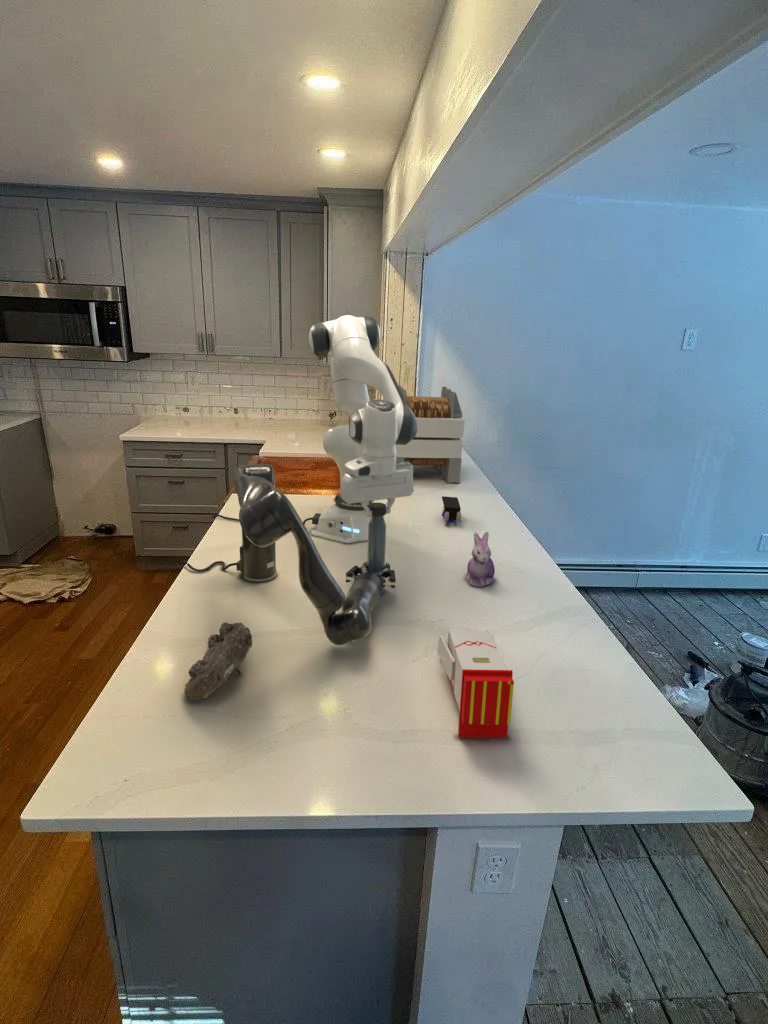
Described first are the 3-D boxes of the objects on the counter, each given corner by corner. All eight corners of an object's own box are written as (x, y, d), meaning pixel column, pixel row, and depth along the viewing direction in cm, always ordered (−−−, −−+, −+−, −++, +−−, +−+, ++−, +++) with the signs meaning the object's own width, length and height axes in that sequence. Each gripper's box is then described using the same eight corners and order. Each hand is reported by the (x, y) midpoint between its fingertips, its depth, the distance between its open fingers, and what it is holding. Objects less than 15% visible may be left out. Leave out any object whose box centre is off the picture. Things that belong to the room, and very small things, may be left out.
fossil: (205, 625, 130) (252, 594, 125) (233, 653, 133) (280, 624, 128) (163, 694, 111) (216, 661, 106) (197, 725, 114) (251, 694, 109)
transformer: (382, 463, 289) (386, 382, 275) (445, 464, 293) (451, 384, 279) (390, 482, 257) (394, 392, 243) (460, 483, 261) (468, 394, 247)
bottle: (373, 584, 162) (376, 502, 154) (387, 590, 160) (390, 506, 151) (362, 591, 159) (364, 507, 150) (376, 596, 156) (379, 511, 147)
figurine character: (461, 530, 209) (456, 512, 222) (463, 512, 205) (458, 495, 219) (443, 530, 208) (439, 512, 222) (445, 511, 205) (440, 494, 218)
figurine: (477, 590, 161) (482, 542, 156) (457, 575, 170) (461, 529, 165) (503, 584, 166) (509, 537, 161) (482, 570, 174) (487, 525, 169)
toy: (488, 613, 130) (523, 677, 101) (484, 667, 133) (517, 744, 104) (435, 612, 130) (455, 676, 101) (432, 666, 133) (451, 743, 103)
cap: (369, 516, 149) (369, 507, 148) (369, 510, 153) (369, 502, 152) (386, 517, 149) (386, 508, 148) (385, 511, 153) (385, 502, 153)
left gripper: (392, 582, 141) (403, 555, 157) (337, 576, 143) (353, 550, 159) (391, 609, 144) (402, 580, 159) (336, 602, 146) (352, 574, 162)
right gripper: (407, 458, 154) (404, 506, 159) (338, 464, 145) (337, 515, 149) (419, 463, 149) (416, 513, 154) (349, 471, 139) (348, 523, 144)
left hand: (377, 565), depth 159 cm, fingers closed on bottle, 5 cm apart
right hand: (377, 514), depth 151 cm, fingers closed on cap, 4 cm apart
